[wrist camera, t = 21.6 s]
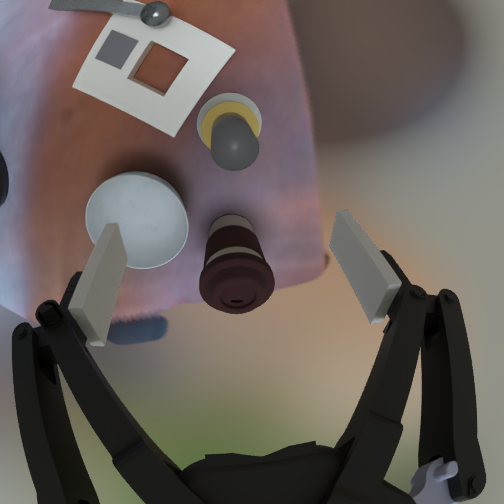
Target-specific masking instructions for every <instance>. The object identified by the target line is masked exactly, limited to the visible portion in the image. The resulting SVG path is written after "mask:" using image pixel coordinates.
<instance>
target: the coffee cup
mask: <svg viewBox="0 0 504 504" xmlns="http://www.w3.org/2000/svg"><path fill="white" fill-rule="evenodd" d="M274 286H275V280H274V276H273V272H272V270H271V268H270V266H269V264H268V263H267V262H266V260H265V258H264V255H263V252H262V250H261V247H260V244H259V241H258V239H257V237H256V235H255V234H254V231H253V229H252V226H251V224H250V223H249V222H248V221H247V220H246V219H245V218H243V217H241V216H238V215H225V216H222V217H220V218H218V219H217V220H216V221H215V222H214V223H213V224H212V226H211V228H210V231H209V239H208V241H207V245H206V252H205V260H204V268H203V270H202V272H201V275H200V280H199V290H200V294H201V296H202V298H203V300H204V301H205V302H206V303H207V304H208V305H210V306H211V307H213V308H215V309H217V310H220V311H223V312H226V313H230V314H242V313H246V312H250V311H252V310H253V309H255V308H257V307H259V306H261V305H262V304H263V303H265V302H266V301H267V300H268V299H269V297H270V296H271V294H272V293H273V290H274Z"/></svg>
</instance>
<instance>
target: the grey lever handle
mask: <svg viewBox="0 0 504 504" xmlns="http://www.w3.org/2000/svg"><path fill="white" fill-rule="evenodd" d="M48 9H52V10H57V11H82V12H95V13H104V14H112V15H119V16H126V17H132V18H137V19H141V21H142V22H143V23H145V24H146V25H148V26H149V27H152V28H161V27H163V26H165V25H167V24H168V23H169V22H170V20H171V18H172V12H171V10H170V8H169V7H168V6H167V5H166V4H165V3H164V2H161V1H154V2H151V3H149V4H147V5H144V4H138V3H132V2H125V1H117V0H52V1H51V3H50V6H49V8H48Z"/></svg>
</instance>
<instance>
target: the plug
mask: <svg viewBox="0 0 504 504" xmlns="http://www.w3.org/2000/svg"><path fill="white" fill-rule="evenodd" d="M201 134H202V138H203V141H204V143H205V144H206V146H207V147H208V148H209V149H210V150H211V155H212V157H213V159H214V161H215V162H216V163H217V164H218V165H219V166H220V167H222V168H224V169H226V170H231V171H237V170H242V169H245V168H247V167H248V166H250V165H251V164H252V163H253V162H254V161H255V159H256V158H257V155H258V152H259V143H258V140H257V138H258V135H259V122H258V119H257V117H256V115H255V114H254V113H253V111H252V110H251V109H250V108H249V107H247V106H246V105H244V104H242V103H239V102H234V101H228V102H222V103H219V104H217V105H215V106H214V107H212V108H211V109H210V110H209V111H208V112H207V113H206V115H205V117H204V119H203V122H202V126H201Z"/></svg>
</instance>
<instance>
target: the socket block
mask: <svg viewBox="0 0 504 504" xmlns="http://www.w3.org/2000/svg"><path fill="white" fill-rule="evenodd" d="M123 1H125V2H132V3H138V4H143V3H140V2H138V1H135V0H123ZM144 5H146V4H144ZM155 43H158V44H160V45H162V46H164V47H166V48H168V49H170V50H172V51H174V52H176V53H178V54H180V55H182V56H184V57H185V58H187V59H189V60H188V62H187V63H186V64H185V66H184V67H183V69H182V70H181V72H180V73H179V75H178V76H177V77H176V79H175V80H174V82H173V83H172V85H171V86H170V88H169V90H168V91H167V93H166V94H165V93H163V92H161V91H159V90H157V89H155V88H153V87H151V86H149V85H147V84H145V83H143V82H141V81H139V80H137V79H135V78H133V77H134V75H135V74H136V72H137V70H138V69H139V67H140V65H141V64H142V62H143V61H144V59H145V58H146V56H147V55H148V53H149V52H150V50H151V49H152V47H153V46H154V44H155ZM235 51H236V50H235V49H233V48H232V47H230V46H228V45H227V44H225V43H223V42H222V41H220V40H218V39H216V38H215V37H213V36H211V35H209V34H207V33H206V32H204V31H202V30H200V29H198V28H196V27H194V26H192V25H190V24H188V23H186V22H184V21H182V20H180V19H178V18H176V17H174V16H172V18H171V20H170V22H169V23H168V24H167V25H165V26H163V27H161V28H152V27H149V26H148V25H146V24H145V23H143V22H142V21H141V19H137V18H132V17H126V16H119V15H112V17H111V18H110V20H109V21H108V23H107V24H106V26H105V27H104V29H103V31H102V32H101V34H100V35H99V37H98V39H97V40H96V42H95V44H94V45H93V47H92V49H91V51H90V53H89V54H88V56H87V58H86V60H85V62H84V64H83V66H82V68H81V70H80V72H79V74H78V76H77V78H76V80H75V82H74V84H73V86H72V87H73V88H76V89H78V90H80V91H82V92H85V93H87V94H89V95H91V96H93V97H95V98H97V99H100V100H102V101H104V102H106V103H108V104H110V105H112V106H114V107H116V108H118V109H120V110H122V111H124V112H126V113H128V114H130V115H132V116H134V117H136V118H138V119H140V120H142V121H144V122H146V123H148V124H150V125H152V126H153V127H155V128H157V129H159V130H161V131H163V132H165V133H167V134H168V135H170V136H172V137H175V135H176V134H177V132H178V130H179V129H180V127H181V126H182V124H183V123H184V121H185V120H186V118H187V116H188V115H189V113H190V112H191V110H192V109H193V107H194V106H195V105H196V103H197V102H198V100H199V99H200V97H201V96H202V94H203V93H204V92H205V90H206V89H207V87H208V86H209V85H210V83H211V82H212V81H213V79H214V78H215V77H216V75H217V74H218V73H219V71H220V70H221V69H222V67H223V66H224V65H225V63H226V62H227V61H228V60H229V58H230V57H231V56H232V55H233V53H234V52H235Z"/></svg>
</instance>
